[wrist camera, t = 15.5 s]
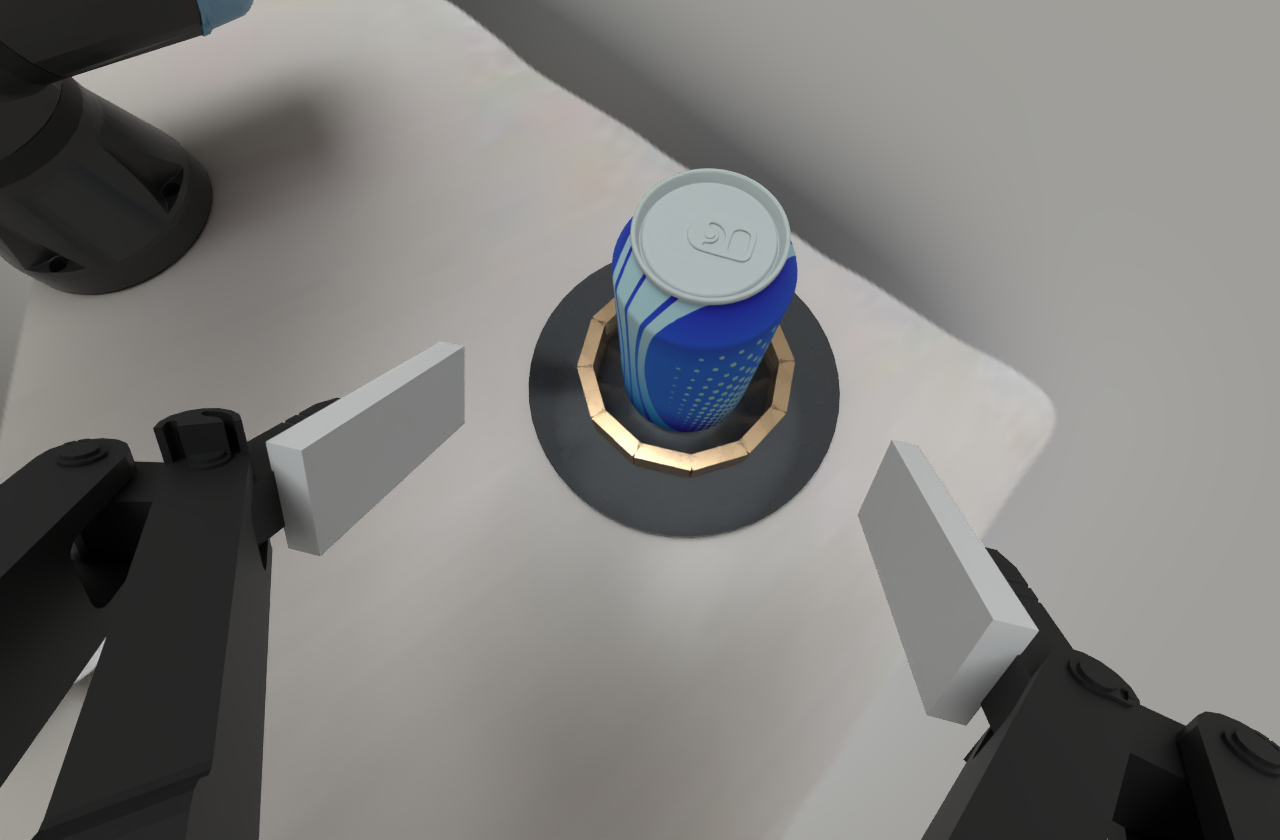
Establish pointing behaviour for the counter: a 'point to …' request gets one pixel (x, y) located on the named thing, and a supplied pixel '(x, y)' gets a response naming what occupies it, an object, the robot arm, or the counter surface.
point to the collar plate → (675, 461)
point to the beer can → (699, 294)
